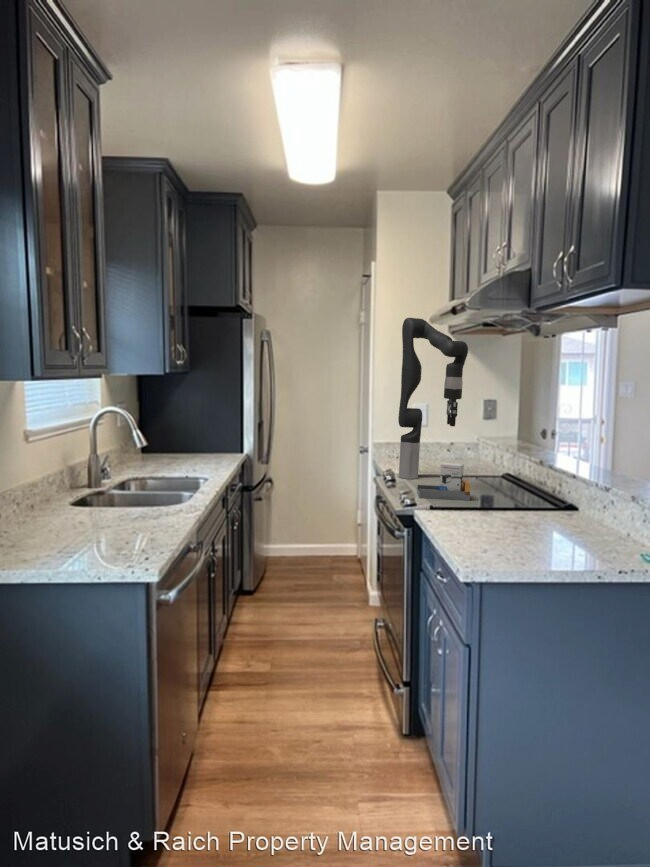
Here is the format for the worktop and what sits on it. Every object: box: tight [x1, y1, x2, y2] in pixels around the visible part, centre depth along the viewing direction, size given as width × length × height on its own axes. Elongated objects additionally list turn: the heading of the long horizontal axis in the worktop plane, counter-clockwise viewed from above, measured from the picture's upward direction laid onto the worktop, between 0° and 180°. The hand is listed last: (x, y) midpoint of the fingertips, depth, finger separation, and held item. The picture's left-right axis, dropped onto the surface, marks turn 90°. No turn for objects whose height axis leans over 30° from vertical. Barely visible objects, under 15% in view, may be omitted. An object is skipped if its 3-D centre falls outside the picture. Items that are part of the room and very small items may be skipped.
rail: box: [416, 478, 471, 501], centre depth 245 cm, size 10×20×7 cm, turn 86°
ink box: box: [439, 462, 465, 491], centre depth 244 cm, size 8×5×12 cm, turn 65°
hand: (450, 425), depth 258 cm, fingers open, 8 cm apart
